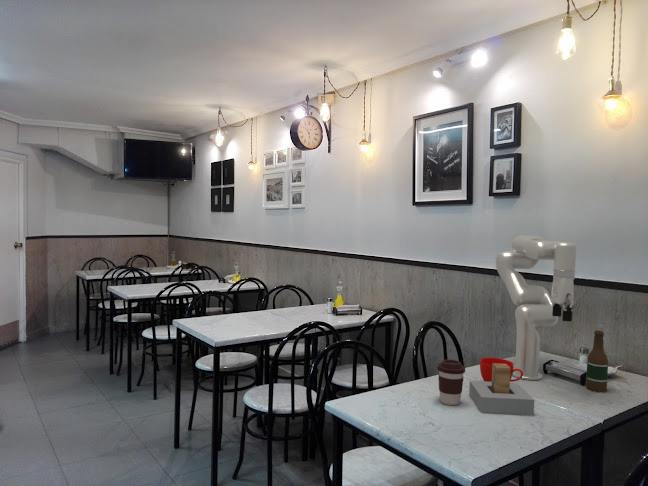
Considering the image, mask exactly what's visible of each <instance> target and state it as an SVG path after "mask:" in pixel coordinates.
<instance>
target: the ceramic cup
mask: <svg viewBox="0 0 648 486" xmlns="http://www.w3.org/2000/svg"><path fill="white" fill-rule="evenodd" d="M493 363H495V364H507V365H508V366H509V367H510V383H514V382H517V381H519V380H521V378H522V377H523V372H522V370H520V369H515V368H514V367H515V364H514V362H513V361H510V360H507V359H504V358H497V357H484V358H481V359H480V361H479V369H480V376H481V378H482V380H483V381H486V382H492V365H493ZM514 371H520V372H521V376H520V377H519V378H515V379H512V377H513V375H512V374H513V372H514Z"/></svg>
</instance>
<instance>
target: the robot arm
mask: <svg viewBox="0 0 648 486" xmlns="http://www.w3.org/2000/svg"><path fill="white" fill-rule="evenodd" d="M511 248H512V250H503V251H501V252H499V253H498V254H497V255H496V256H495V257H496V258H495V268H496V271H497V273H498V275H499V276H500V278H501V279H502V281H503V282H504V284H505V286H506V289H507V292H508V294H509V297H510V298H511V301H512V303H513V304H514V305H515V306H517V307H516V309H515V311H514V316H515V323H516V342H515V343H516V344H515V345H516V346H515V347H516V348H515V364H514V369H520V370H522V372H523V377H522V378H521V379H522V380H525V381H540V380H542V379H543V374H542V373H540V372H539V369H540V349H541V348H540V347H541V336H540V334H539V332H538V330H537V329H536V327H554V326H555V325H556V324H557V323H558V322H559V321H558V320H559V318H560V317H562V321H563V322H572V320H573V309H574V304H575V300H574V294H575V292H574V291H575V289H574V280H575V279H576V261H577V259H576V258H577V244H575V243H573V242H566V241H561V240H560V241H559V240H558V241H557V240H556V241H555V240H546V239H545V238H544V237H542V236H540V235H518V236H516V237H514V239H513V240H512V241H511ZM541 260H545V261H546V260H547V261H550V260H552V261H553V274H552V277H553V279H552V283H551V284H552V285H551V296H550V293H549V292H548V290H547V289H546V288H545V287H543V286H541V285H529V284H527V282H526V280H525V278H524V276H523V275H522V274H521V273H519V271H517V270H530V269H533V268H535V267H536V265H537V264H538V262H539V261H541ZM562 306H563V310H562ZM520 376H521V372H520V371H514V372H513V374H512V377H515V378H516V379H518V378H519V377H520ZM521 379H520V380H521Z"/></svg>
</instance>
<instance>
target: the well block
mask: <svg viewBox="0 0 648 486" xmlns="http://www.w3.org/2000/svg"><path fill="white" fill-rule="evenodd" d="M491 388H492V382H486V381H484V380H483V381H482V380H481V381H480V380H469V389H468V395H469V397H470V398H471V400H472V401H473V403H474V404H475V406H476V407H477V409H478V410H479V412H480V413H482V414H496V415H497V414H500V415H515V416H517V415H520V416H535V415H534V413H535V411H534V410H535V398H534V397H532V396H531V395H530V394H529V393H528V392H527V391H526V390H525V389H524V388H523V387H522V386H521V385H520V384H519V383H518V382H510V390H509V394H503V393H492V392H491Z"/></svg>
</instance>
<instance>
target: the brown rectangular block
mask: <svg viewBox="0 0 648 486" xmlns="http://www.w3.org/2000/svg"><path fill="white" fill-rule="evenodd" d="M510 383H511V382H510V367H509V366H508V365H507V364H495V363H493V365H492V388H491V392H492V393H503V394H509V390H510Z"/></svg>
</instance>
